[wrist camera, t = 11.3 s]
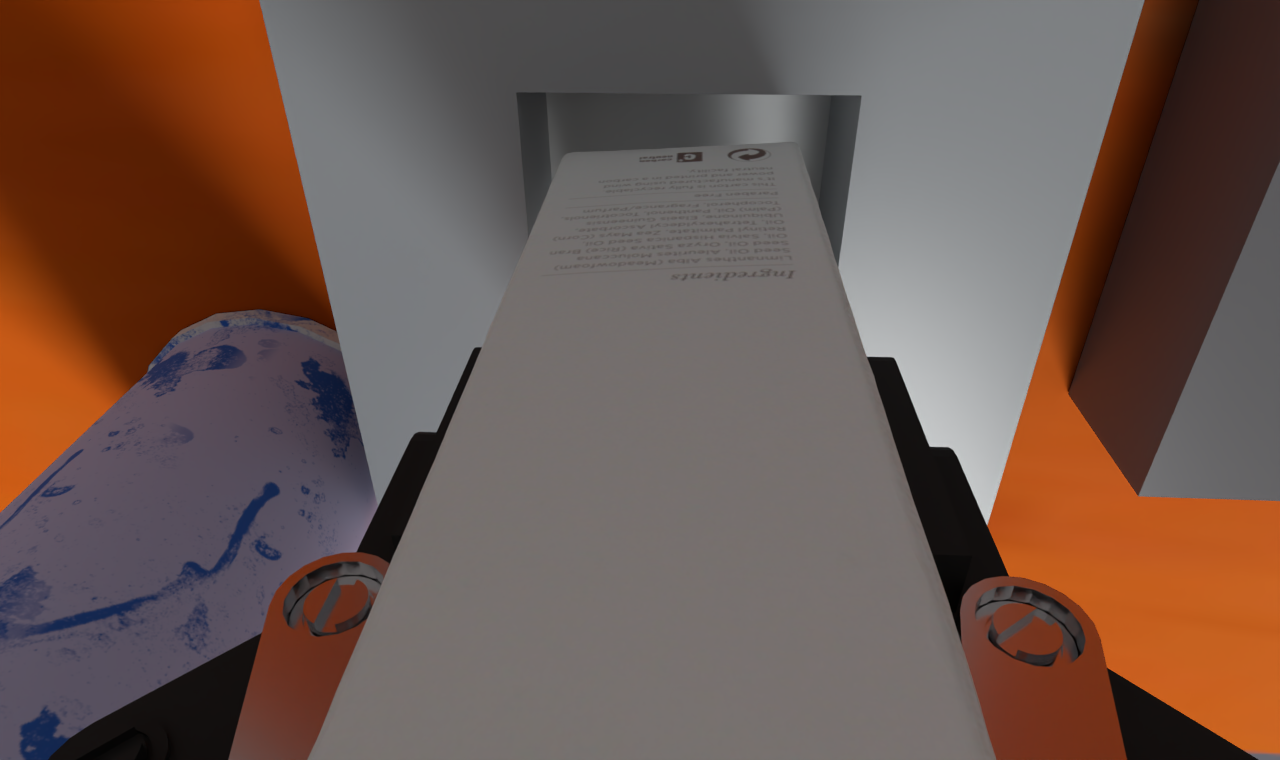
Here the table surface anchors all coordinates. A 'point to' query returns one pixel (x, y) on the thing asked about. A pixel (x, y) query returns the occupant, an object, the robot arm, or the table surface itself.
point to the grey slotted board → (692, 117)
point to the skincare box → (665, 504)
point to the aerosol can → (176, 522)
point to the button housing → (1199, 278)
